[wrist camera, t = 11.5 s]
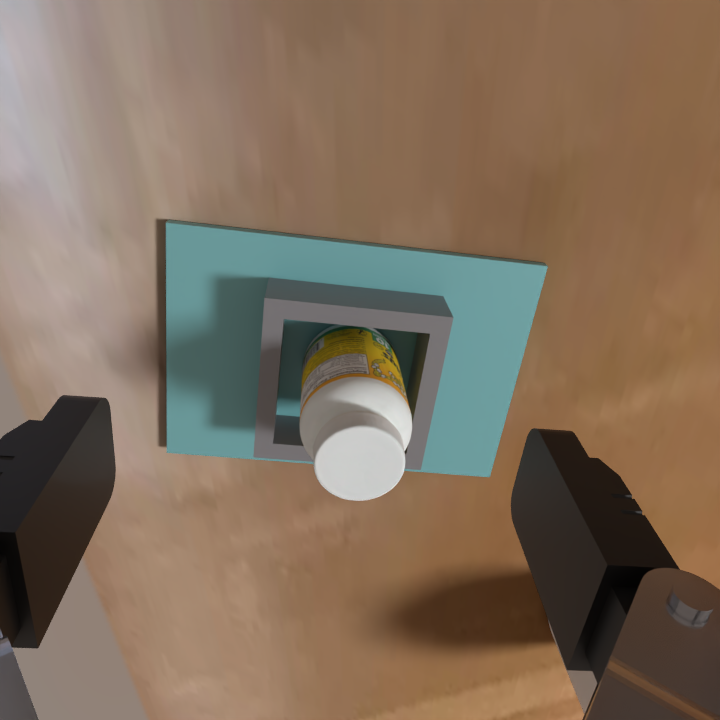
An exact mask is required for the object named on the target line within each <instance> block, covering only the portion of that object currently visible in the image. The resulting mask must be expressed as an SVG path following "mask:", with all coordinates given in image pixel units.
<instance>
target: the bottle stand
mask: <svg viewBox="0 0 720 720" xmlns="http://www.w3.org/2000/svg"><path fill="white" fill-rule="evenodd" d="M547 267H548V266H547V265H546V264H545V263H541V262H532V261H524V260H515V259H506V258H498V257H489V256H480V255H472V254H463V253H454V252H445V251H437V250H428V249H419V248H411V247H402V246H393V245H385V244H376V243H367V242H358V241H350V240H341V239H332V238H324V237H315V236H306V235H298V234H289V233H280V232H271V231H263V230H254V229H245V228H237V227H228V226H219V225H211V224H202V223H193V222H184V221H176V220H168V221H167V222H166V369H167V453H178V454H191V455H204V456H217V457H230V458H244V459H257V460H270V461H283V462H297V463H310V464H314V460H313V459H312V458H311V457H310V456H309V454H308V453H307V451H306V450H305V448H304V445H303V443H302V440H301V436H300V405H301V389H302V366H303V359H304V355H305V352H306V350H307V348H308V346H309V344H310V343H311V342H312V340H313V339H314V338H315V337H316V336H317V335H318V334H319V333H321V332H322V331H324V330H325V329H327V328H329V327H331V326H334V325H348V326H358V327H368V328H374V329H375V330H377V331H378V332H380V333H381V334H382V335H383V336H385V337H386V338H387V339H388V340H389V342H390V343H391V344H392V346H393V348H394V350H395V352H396V355H397V359H398V363H399V367H400V371H401V375H402V379H403V383H404V388H405V392H406V396H407V400H408V404H409V408H410V411H411V415H412V433H411V438H410V441H409V444H408V446H407V448H406V450H405V451H404V452H405V469H404V471H416V472H429V473H442V474H455V475H468V476H482V477H490V474H491V470H492V467H493V463H494V459H495V456H496V452H497V449H498V445H499V441H500V438H501V434H502V430H503V427H504V423H505V420H506V416H507V412H508V409H509V405H510V401H511V398H512V394H513V391H514V387H515V383H516V380H517V376H518V372H519V369H520V365H521V362H522V358H523V354H524V351H525V347H526V343H527V340H528V336H529V333H530V329H531V325H532V322H533V318H534V314H535V311H536V307H537V304H538V300H539V296H540V293H541V289H542V286H543V282H544V278H545V275H546V271H547Z"/></svg>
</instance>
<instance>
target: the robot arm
mask: <svg viewBox="0 0 720 720" xmlns="http://www.w3.org/2000/svg"><path fill="white" fill-rule="evenodd" d="M115 471H116V467H115V455H114V444H113V434H112V423H111V412H110V405H109V402H108V400H107V399H106V398H99V397H84V396H70V395H63V396H61V397H60V398H59V399H58V400H57V402H56V403H55V404H54V406H53V407H52V408H51V410H50V411H49V412H48V414H47V415H46V416H45V418H44V419H43V420H42V421H38V420H28V421H27V422H25V423H23V424H22V425H20V426H18V427H17V428H15V429H13V430H12V431H10V432H9V433H7V434H5V435H4V436H3V437H2V438H1V439H0V720H38V717H37V714H36V712H35V709H34V706H33V703H32V701H31V698H30V695H29V693H28V690H27V687H26V685H25V682H24V679H23V676H22V674H21V671H20V669H19V666H18V663H17V660H16V657H15V655H14V652H13V649H12V647H17V648H38V647H39V645H40V643H41V641H42V639H43V637H44V635H45V633H46V631H47V629H48V627H49V625H50V622H51V620H52V618H53V616H54V614H55V612H56V610H57V608H58V606H59V604H60V602H61V600H62V598H63V595H64V593H65V591H66V589H67V587H68V585H69V583H70V581H71V579H72V577H73V575H74V573H75V571H76V569H77V567H78V565H79V562H80V560H81V558H82V556H83V554H84V552H85V550H86V548H87V546H88V544H89V542H90V540H91V538H92V536H93V533H94V531H95V529H96V527H97V525H98V523H99V521H100V519H101V517H102V515H103V513H104V511H105V509H106V507H107V504H108V502H109V500H110V498H111V495H112V492H113V487H114V482H115ZM511 514H512V520H513V524H514V527H515V529H516V532H517V535H518V538H519V540H520V543H521V546H522V549H523V551H524V554H525V557H526V560H527V562H528V565H529V568H530V571H531V573H532V576H533V579H534V582H535V584H536V587H537V590H538V593H539V595H540V598H541V601H542V604H543V606H544V609H545V612H546V615H547V617H548V620H549V623H550V625H551V628H552V631H553V634H554V636H555V639H556V642H557V645H558V647H559V650H560V653H561V656H562V658H563V661H564V664H565V667H566V669H567V670H573V671H592V672H593V674H594V676H595V679H596V681H597V685H596V688H595V690H594V692H593V695H592V697H591V700H590V702H589V704H588V707H587V709H586V712H585V714H584V717H583V719H582V720H720V590H719V589H718V588H716V587H715V586H714V585H712V584H711V583H709V582H708V581H706V580H704V579H702V578H700V577H699V576H696V575H694V574H692V573H689V572H686V571H683V570H680V569H679V568H678V566H677V565H676V563H675V561H674V560H673V558H672V557H671V555H670V554H669V552H668V551H667V549H666V547H665V546H664V544H663V543H662V541H661V540H660V538H659V537H658V535H657V533H656V532H655V530H654V529H653V527H652V526H651V524H650V523H649V521H648V519H647V518H646V516H645V515H642V510H641V509H640V507H639V505H638V504H637V502H636V501H635V499H632V495H631V493H630V491H629V490H628V488H627V487H626V485H625V484H624V482H623V481H622V479H621V477H620V476H619V475H618V474H617V473H615V472H614V471H613V470H612V469H611V468H609V467H608V466H607V465H606V464H605V463H603V462H602V461H601V460H600V459H598V458H589V457H588V455H587V453H586V452H585V450H584V448H583V447H582V445H581V443H580V442H579V440H578V438H577V437H576V435H575V434H574V433H573V432H572V431H564V430H550V429H532V430H531V431H530V432H529V434H528V436H527V439H526V443H525V447H524V450H523V454H522V458H521V461H520V465H519V469H518V472H517V476H516V480H515V483H514V487H513V491H512V497H511Z"/></svg>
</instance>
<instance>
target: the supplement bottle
mask: <svg viewBox="0 0 720 720" xmlns="http://www.w3.org/2000/svg"><path fill="white" fill-rule="evenodd" d="M411 433H412V415H411V411H410V408H409V404H408V400H407V396H406V392H405V388H404V383H403V379H402V375H401V371H400V367H399V363H398V359H397V355H396V352H395V350H394V348H393V346H392V344H391V343H390V342H389V340H388V339H387V338H386V337H385V336H383V335H382V334H381V333H380V332H378V331H377V330H375V329H374V328H368V327H358V326H348V325H334V326H331V327H329V328H327V329H325V330H324V331H322V332H321V333H319V334H318V335H317V336H316V337H315V338H314V339H313V340H312V342H311V343H310V344H309V346H308V348H307V350H306V352H305V355H304V359H303V366H302V389H301V405H300V436H301V440H302V443H303V445H304V448H305V450H306V451H307V453H308V454H309V456H310V457H311V458H312V459H313V460H314V471H315V474H316V477H317V479H318V481H319V482H320V484H321V485H322V486H323V487H324V488H325V489H326V490H327V491H328V492H330V493H331V494H333V495H335V496H337V497H340V498H343V499H347V500H355V501H362V500H369V499H373V498H376V497H379V496H381V495H383V494H385V493H387V492H388V491H390V490H391V489H392V488H393V487H394V486H395V485H396V484H397V483H398V482H399V480H400V479H401V477H402V475H403V472H404V469H405V452H404V451H405V450H406V448H407V446H408V444H409V441H410V438H411Z"/></svg>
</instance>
